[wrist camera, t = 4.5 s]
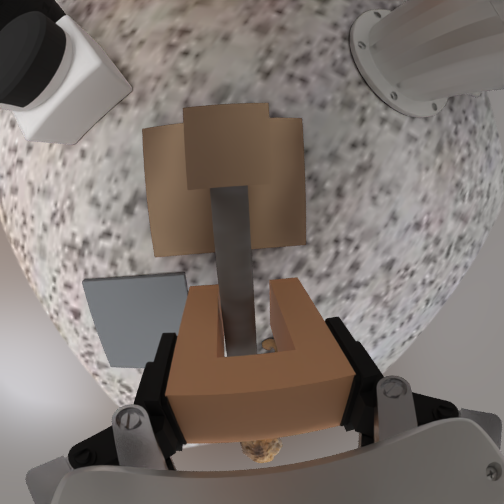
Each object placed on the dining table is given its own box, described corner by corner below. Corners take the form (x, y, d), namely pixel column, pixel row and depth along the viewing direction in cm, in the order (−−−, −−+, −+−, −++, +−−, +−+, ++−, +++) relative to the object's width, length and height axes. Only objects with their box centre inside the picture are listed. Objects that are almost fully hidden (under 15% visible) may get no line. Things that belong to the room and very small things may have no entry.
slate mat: (184, 272, 23) (183, 275, 22) (200, 363, 25) (200, 367, 25) (84, 279, 22) (81, 281, 21) (112, 363, 25) (111, 367, 24)
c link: (297, 277, 15) (356, 374, 8) (296, 322, 16) (340, 425, 8) (190, 286, 15) (165, 395, 7) (197, 331, 16) (185, 442, 8)
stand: (296, 121, 20) (373, 79, 8) (300, 298, 24) (353, 388, 13) (147, 131, 19) (73, 96, 7) (169, 309, 23) (140, 410, 12)
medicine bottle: (99, 44, 15) (34, -16, 4) (134, 90, 18) (64, 30, 6) (44, 97, 16) (-42, 74, 5) (73, 147, 18) (-25, 142, 7)
